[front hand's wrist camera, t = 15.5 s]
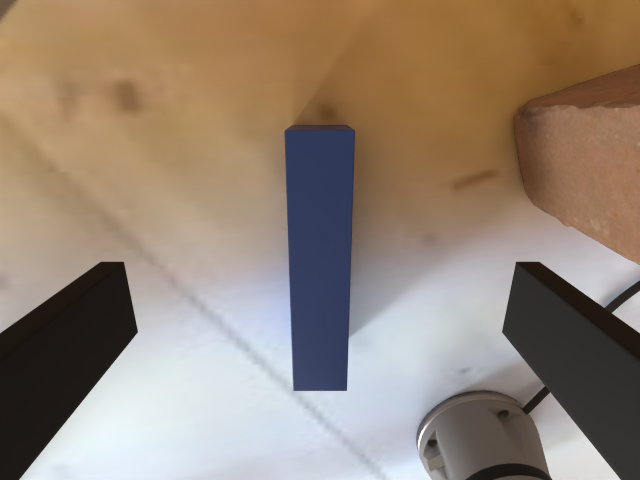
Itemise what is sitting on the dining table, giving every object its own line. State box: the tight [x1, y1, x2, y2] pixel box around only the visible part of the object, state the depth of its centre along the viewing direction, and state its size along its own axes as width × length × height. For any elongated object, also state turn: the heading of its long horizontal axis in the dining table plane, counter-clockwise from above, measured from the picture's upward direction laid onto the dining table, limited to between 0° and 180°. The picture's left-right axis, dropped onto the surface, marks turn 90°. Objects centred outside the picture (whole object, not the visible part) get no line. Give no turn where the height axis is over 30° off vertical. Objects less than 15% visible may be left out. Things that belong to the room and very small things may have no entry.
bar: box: [285, 125, 355, 391], centre depth 36 cm, size 25×5×8 cm, turn 0°
